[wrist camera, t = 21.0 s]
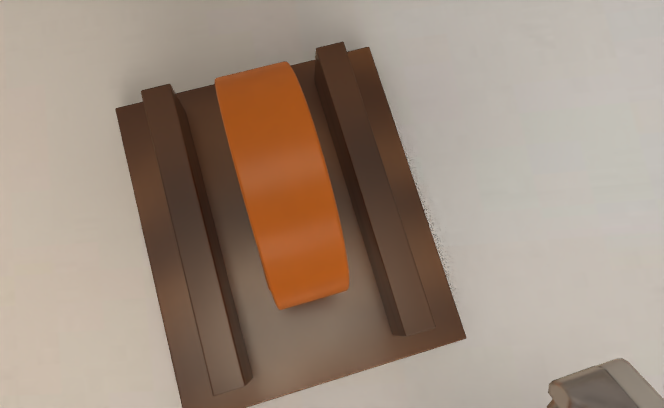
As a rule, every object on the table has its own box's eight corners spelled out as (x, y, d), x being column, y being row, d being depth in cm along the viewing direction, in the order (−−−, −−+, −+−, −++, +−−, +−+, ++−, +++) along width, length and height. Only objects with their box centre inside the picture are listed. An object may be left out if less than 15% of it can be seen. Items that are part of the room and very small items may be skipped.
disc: (294, 124, 25) (290, 8, 16) (345, 295, 23) (372, 276, 14) (230, 140, 24) (187, 32, 15) (277, 316, 23) (260, 309, 14)
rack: (458, 337, 24) (490, 340, 20) (192, 421, 23) (167, 442, 19) (366, 58, 27) (377, 10, 23) (123, 118, 25) (89, 78, 21)
